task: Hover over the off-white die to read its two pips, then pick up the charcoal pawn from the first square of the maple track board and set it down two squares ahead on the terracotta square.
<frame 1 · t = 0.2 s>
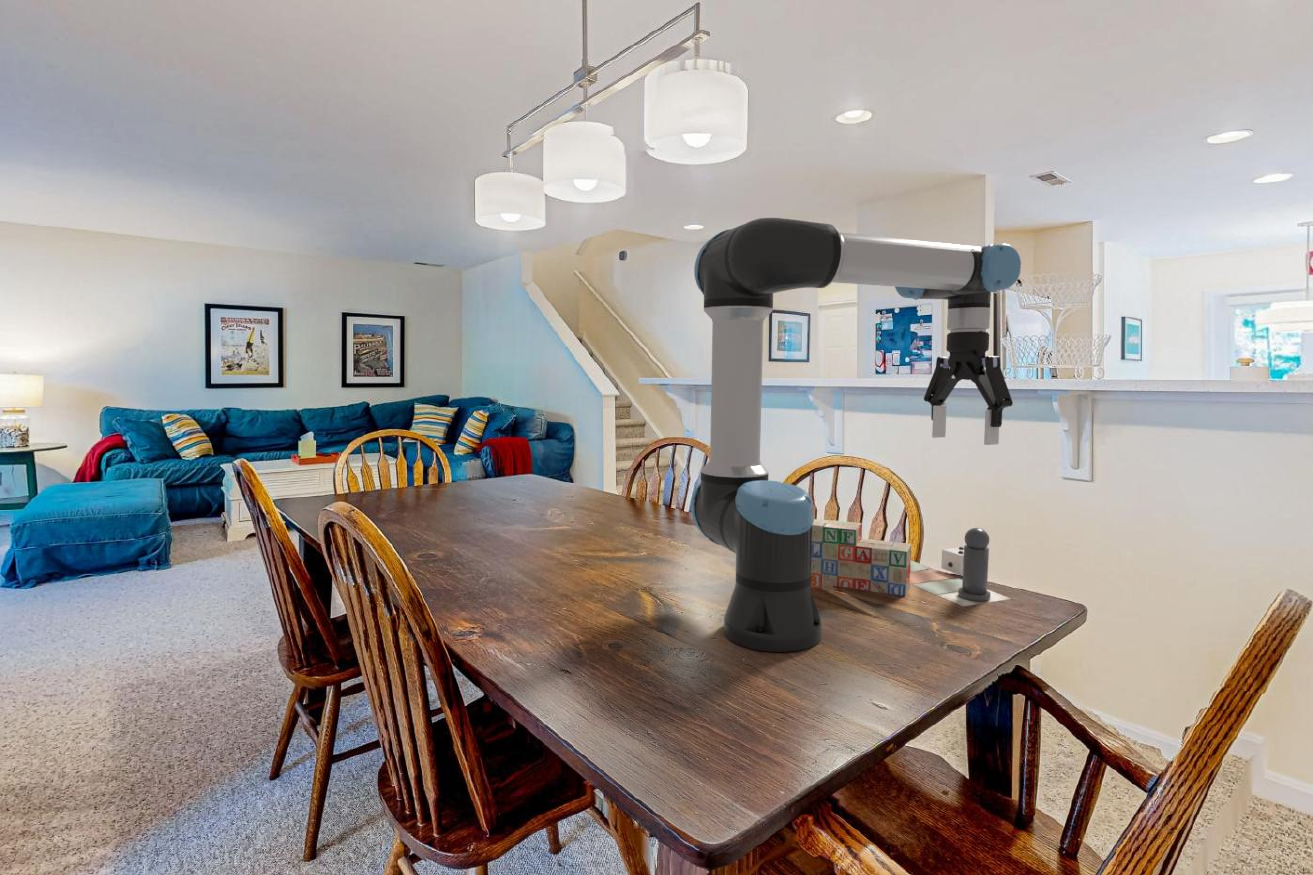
hand: (963, 440, 137), 27 cm above the table, fingers open, 13 cm apart
stack of blocks: (848, 589, 133), on the table
board: (934, 586, 134), on the table
pawn: (974, 596, 124), point 1 cm above the table, touching board
die: (959, 575, 141), on the table
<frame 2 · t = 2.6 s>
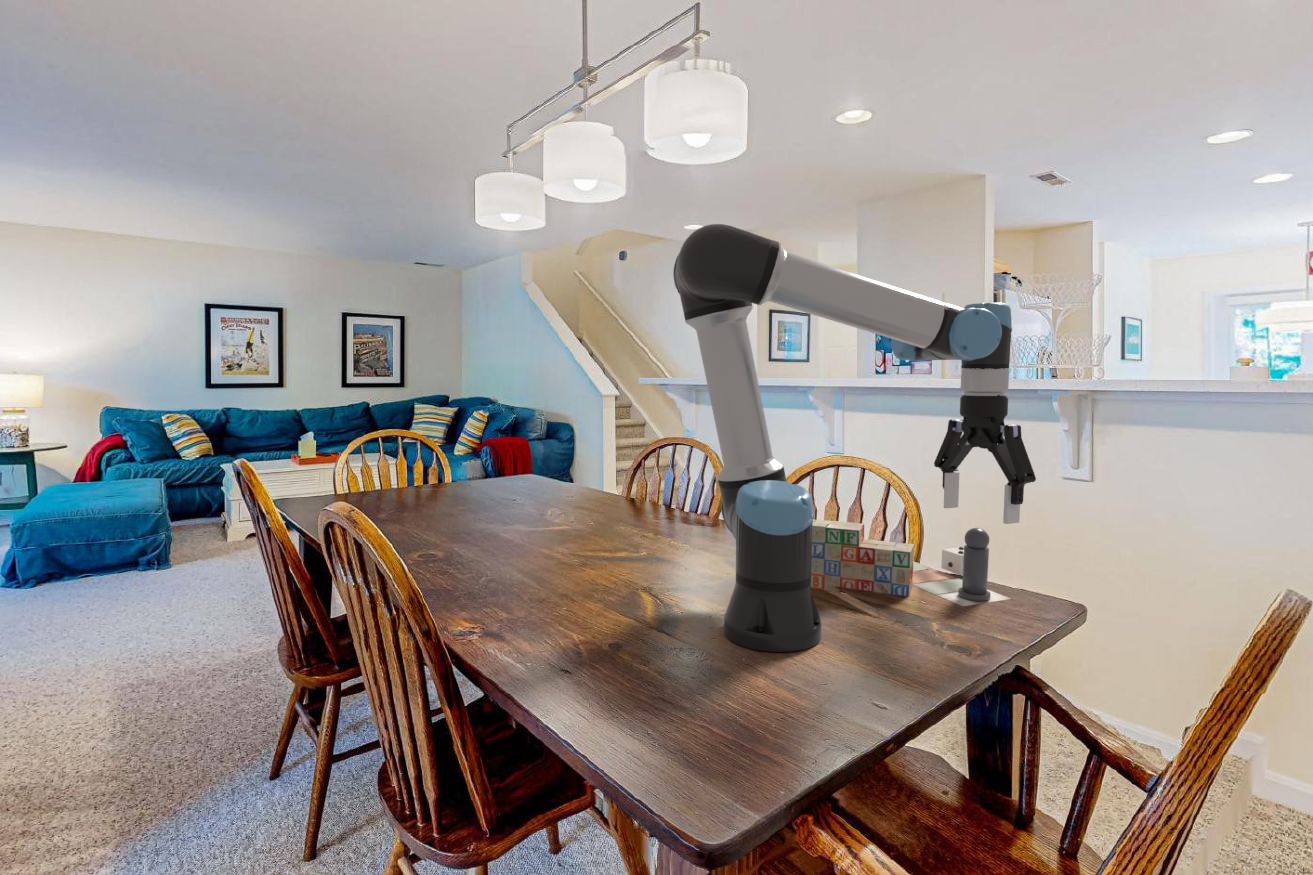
hand: (979, 515, 123), 16 cm above the table, fingers open, 13 cm apart
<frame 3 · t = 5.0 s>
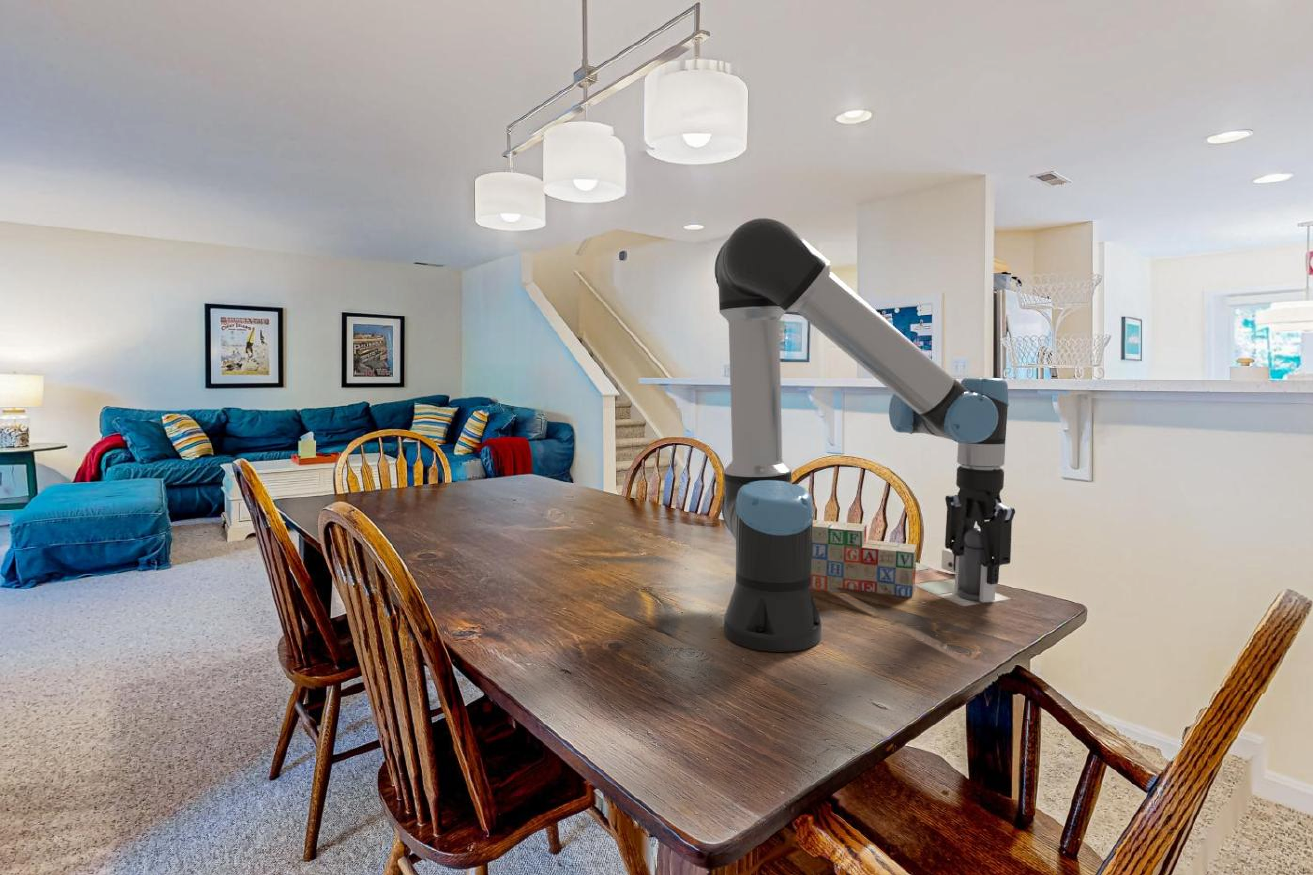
hand: (974, 595, 124), 1 cm above the table, fingers closed on board, pawn, 5 cm apart
pawn: (974, 596, 125), point 1 cm above the table, touching gripper
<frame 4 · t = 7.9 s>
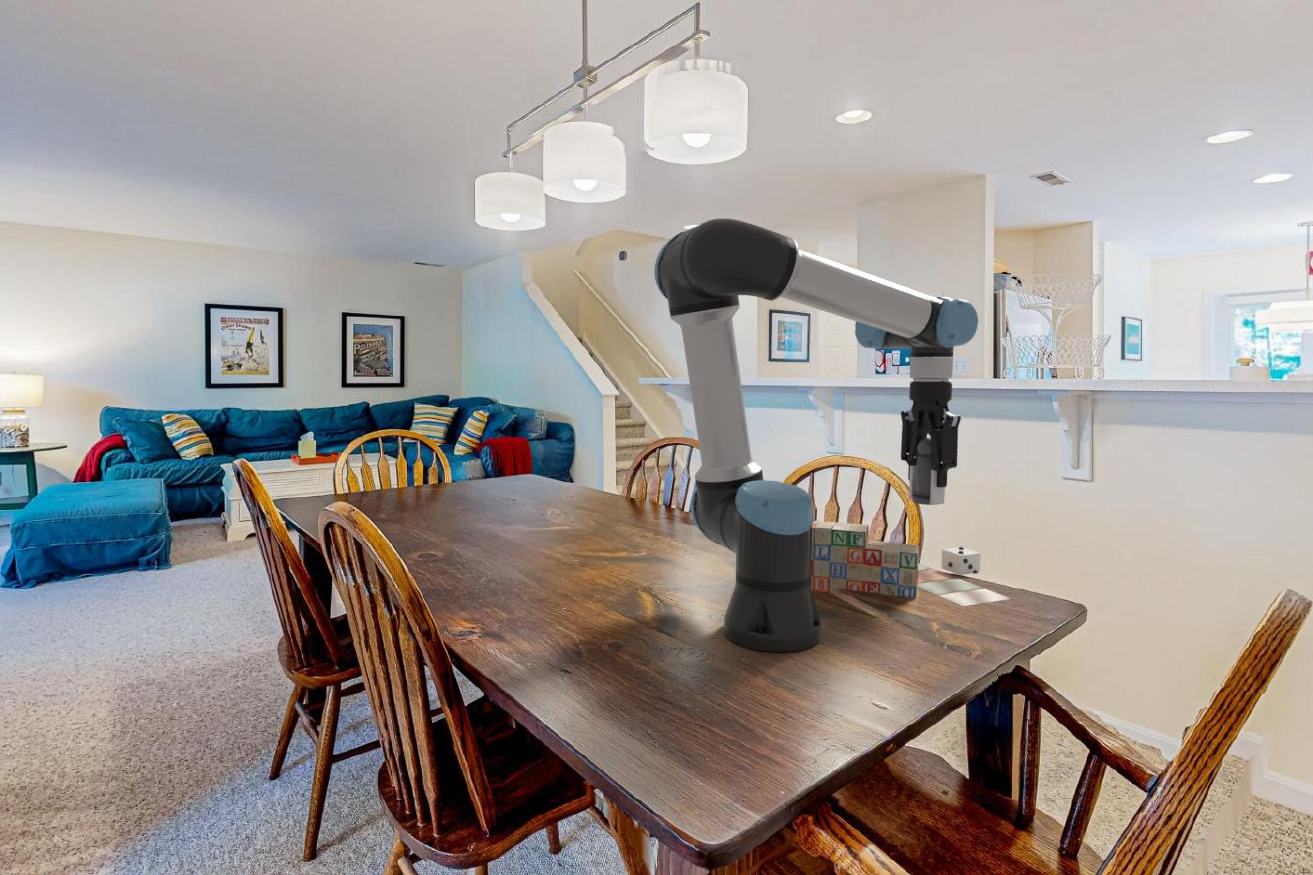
hand: (926, 500, 135), 16 cm above the table, fingers closed on pawn, 5 cm apart
pawn: (926, 502, 135), point 16 cm above the table, touching gripper
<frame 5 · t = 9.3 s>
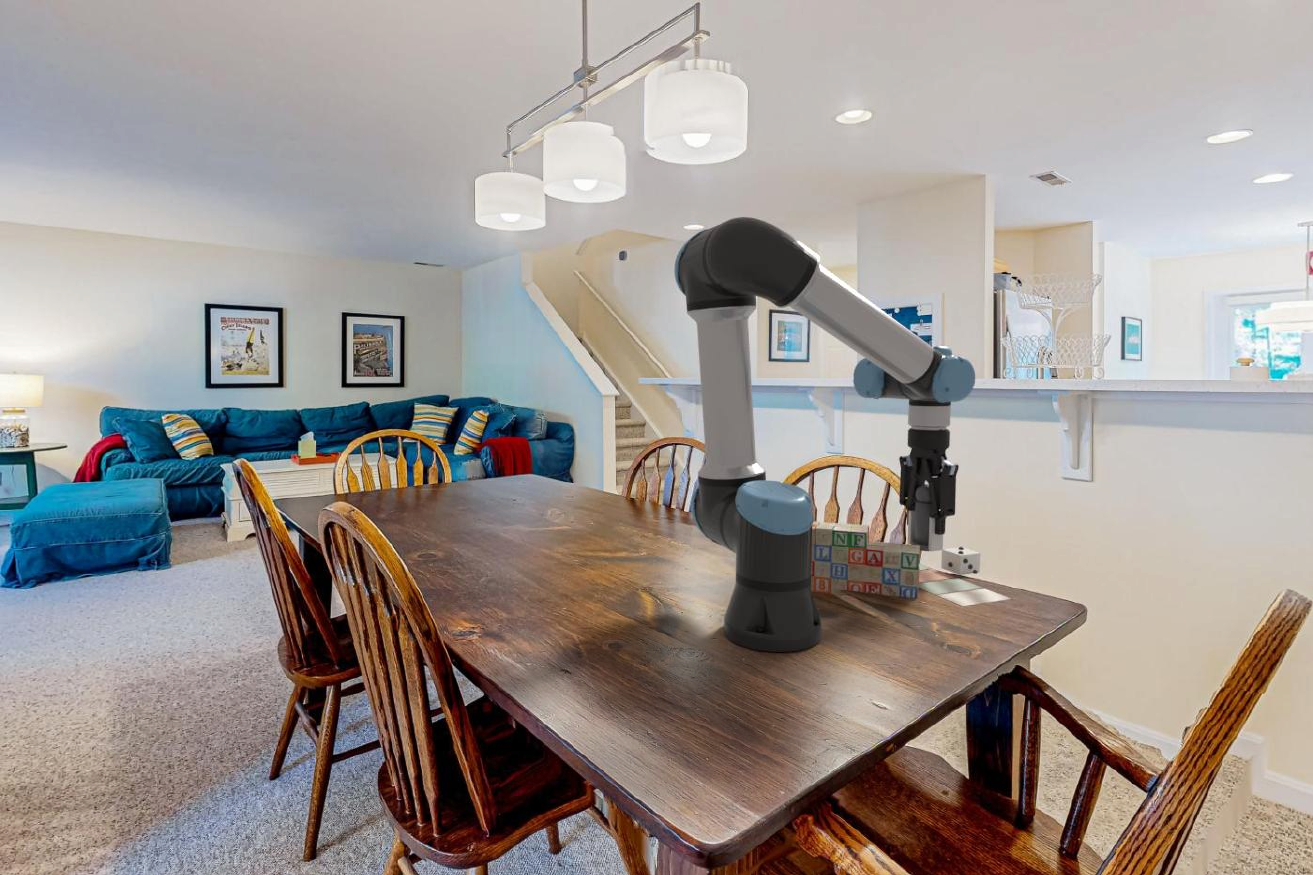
hand: (924, 546, 136), 7 cm above the table, fingers closed on pawn, 5 cm apart
pawn: (924, 547, 136), point 7 cm above the table, touching gripper
when the fingers open (3 cm above the table, at t = 10.8 s): pawn drops 2 cm, resting on board.
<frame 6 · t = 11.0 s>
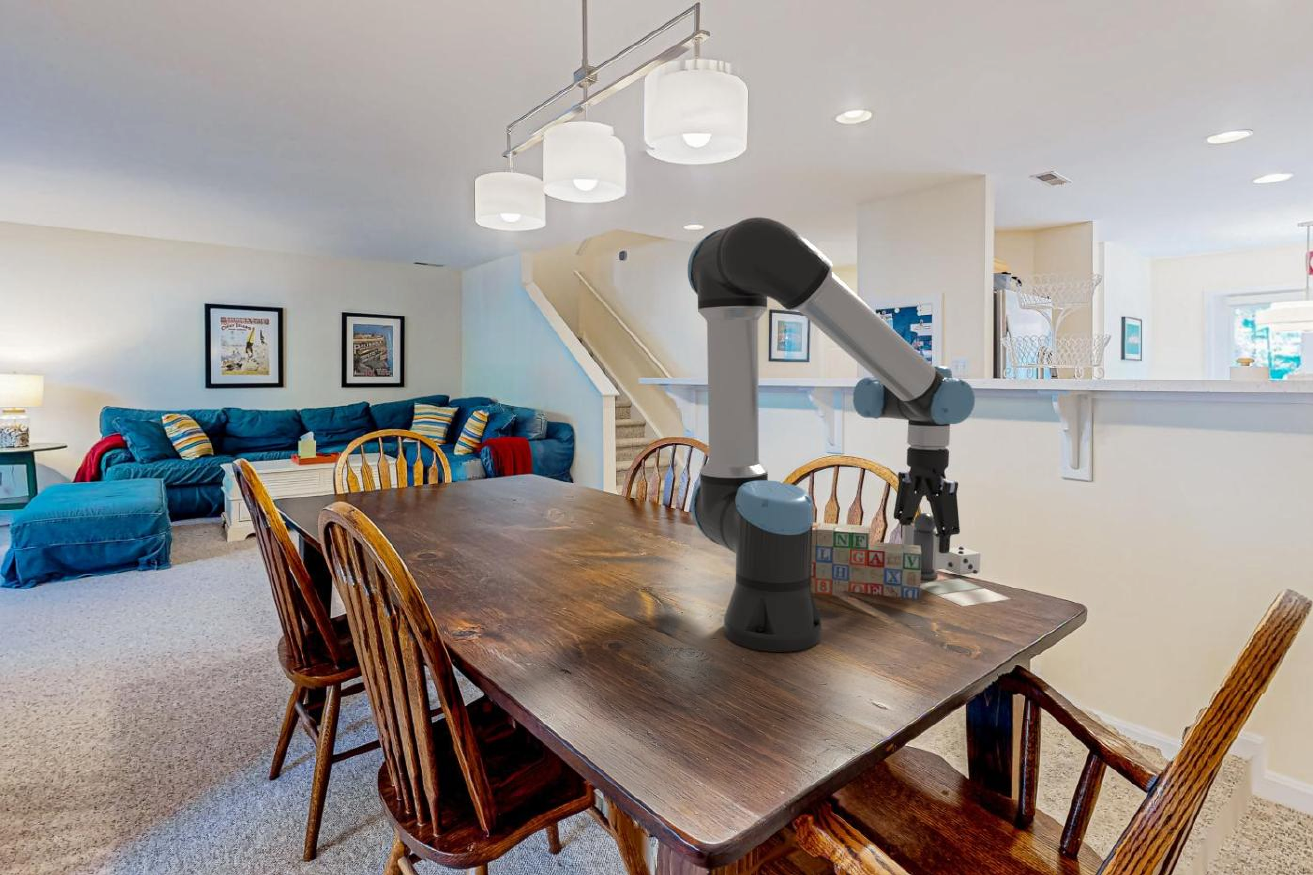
hand: (923, 562, 136), 4 cm above the table, fingers open, 8 cm apart
pawn: (923, 576, 137), point 1 cm above the table, touching board
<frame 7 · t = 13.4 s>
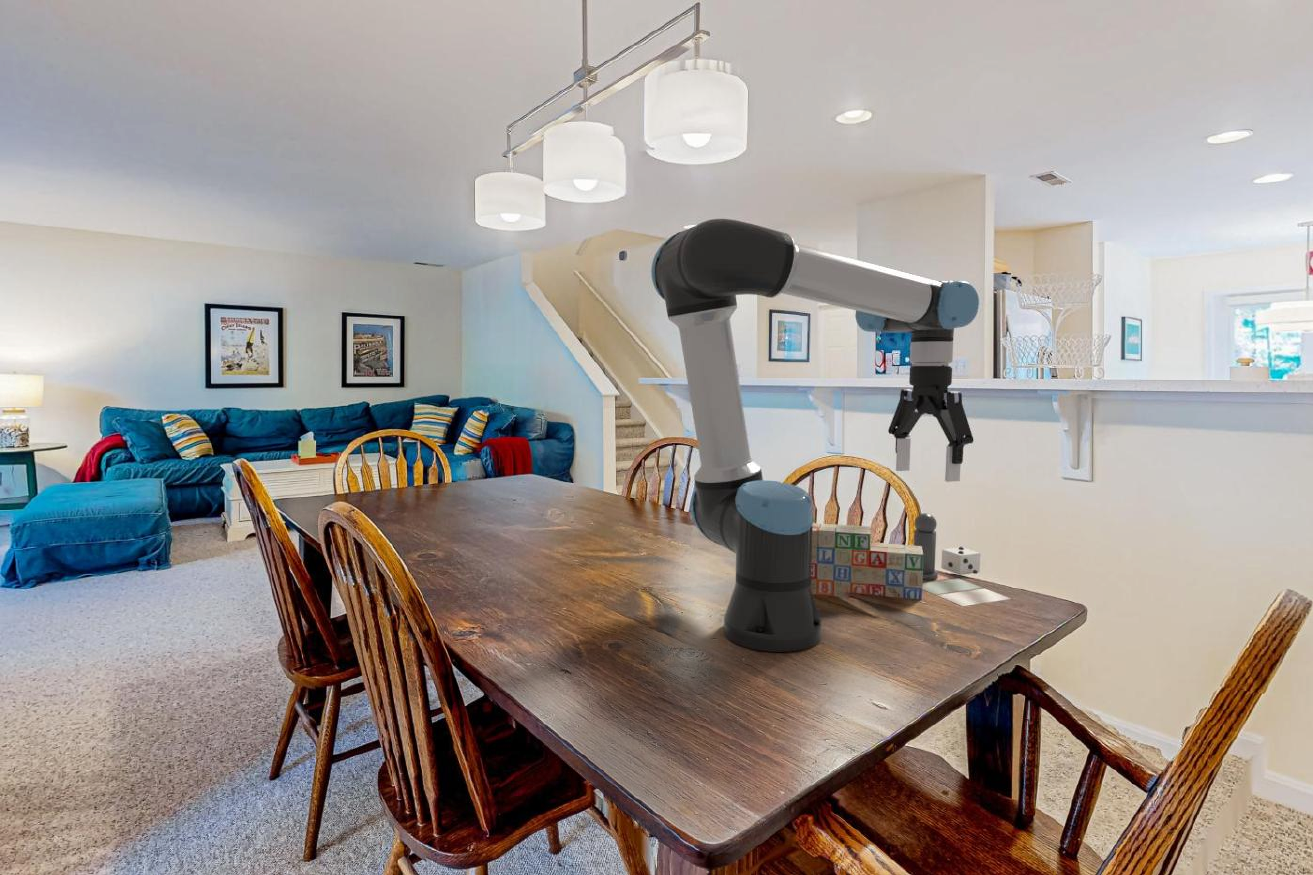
hand: (926, 475, 135), 21 cm above the table, fingers open, 13 cm apart
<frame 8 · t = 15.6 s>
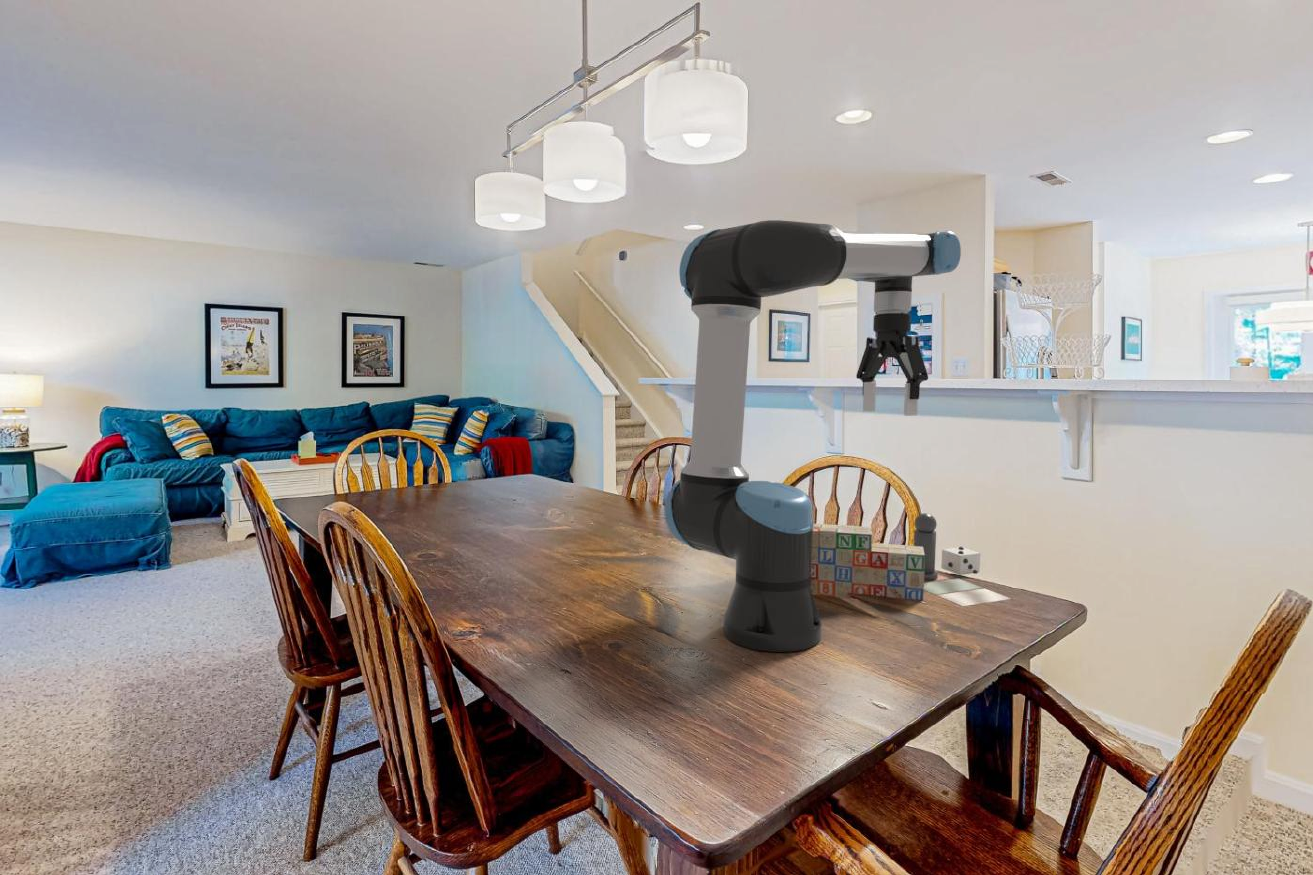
hand: (888, 413, 150), 32 cm above the table, fingers open, 13 cm apart
at the end: pawn 0.0 cm from the target spot on the board, point 1.0 cm above the board's base; pawn tilted 0°; the gripper is holding nothing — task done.
